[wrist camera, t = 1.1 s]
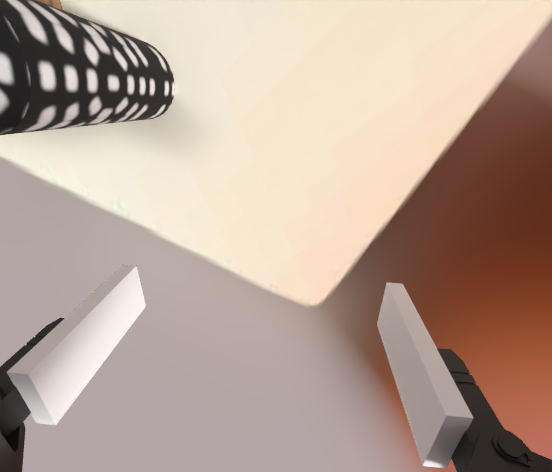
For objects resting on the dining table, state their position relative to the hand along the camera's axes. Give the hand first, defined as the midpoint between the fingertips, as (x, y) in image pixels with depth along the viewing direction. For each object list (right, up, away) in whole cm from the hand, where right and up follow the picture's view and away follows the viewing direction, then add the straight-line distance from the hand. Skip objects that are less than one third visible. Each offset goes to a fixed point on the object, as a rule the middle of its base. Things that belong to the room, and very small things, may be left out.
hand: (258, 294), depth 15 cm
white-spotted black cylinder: (-15, +22, +19) cm, 33 cm away
